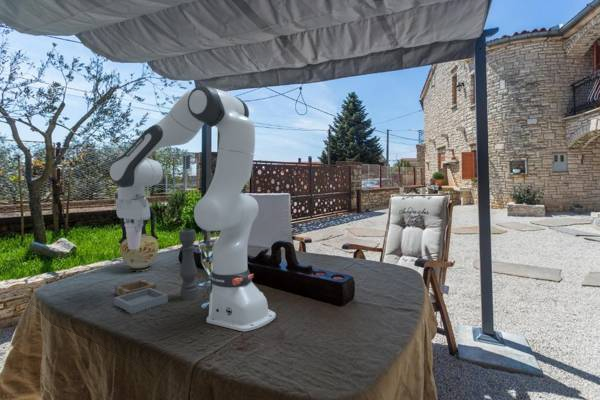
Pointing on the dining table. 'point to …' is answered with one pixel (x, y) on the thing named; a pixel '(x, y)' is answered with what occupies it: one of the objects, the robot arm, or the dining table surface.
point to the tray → (141, 300)
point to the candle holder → (188, 265)
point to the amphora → (146, 251)
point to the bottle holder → (133, 287)
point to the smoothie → (133, 235)
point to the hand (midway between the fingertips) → (133, 230)
